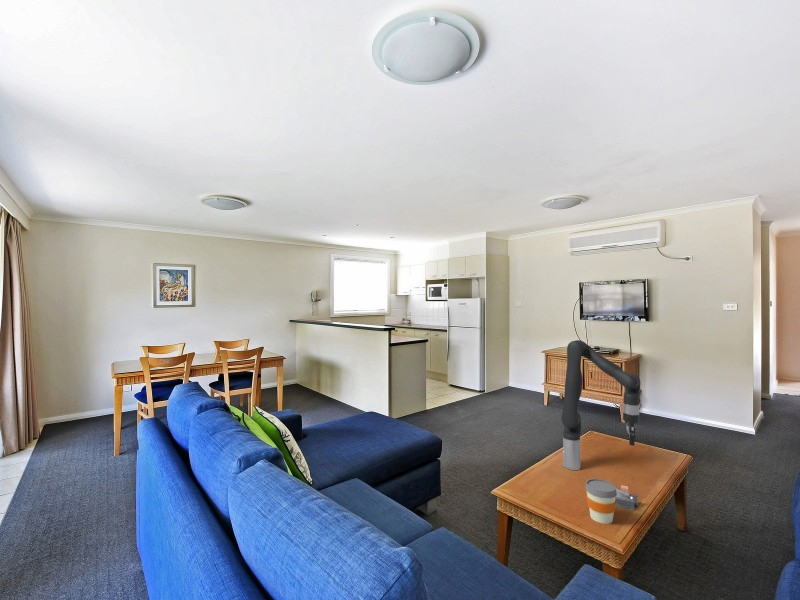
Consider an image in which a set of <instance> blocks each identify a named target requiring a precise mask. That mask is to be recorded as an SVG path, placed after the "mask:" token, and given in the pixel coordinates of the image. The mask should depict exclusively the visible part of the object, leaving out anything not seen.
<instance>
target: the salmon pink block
mask: <svg viewBox="0 0 800 600" xmlns="http://www.w3.org/2000/svg"><path fill="white" fill-rule="evenodd" d="M620 490H621V491H623V492H625V493H628V494H629V486H627V485H623V484H622V485H621V484H620Z"/></svg>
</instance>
